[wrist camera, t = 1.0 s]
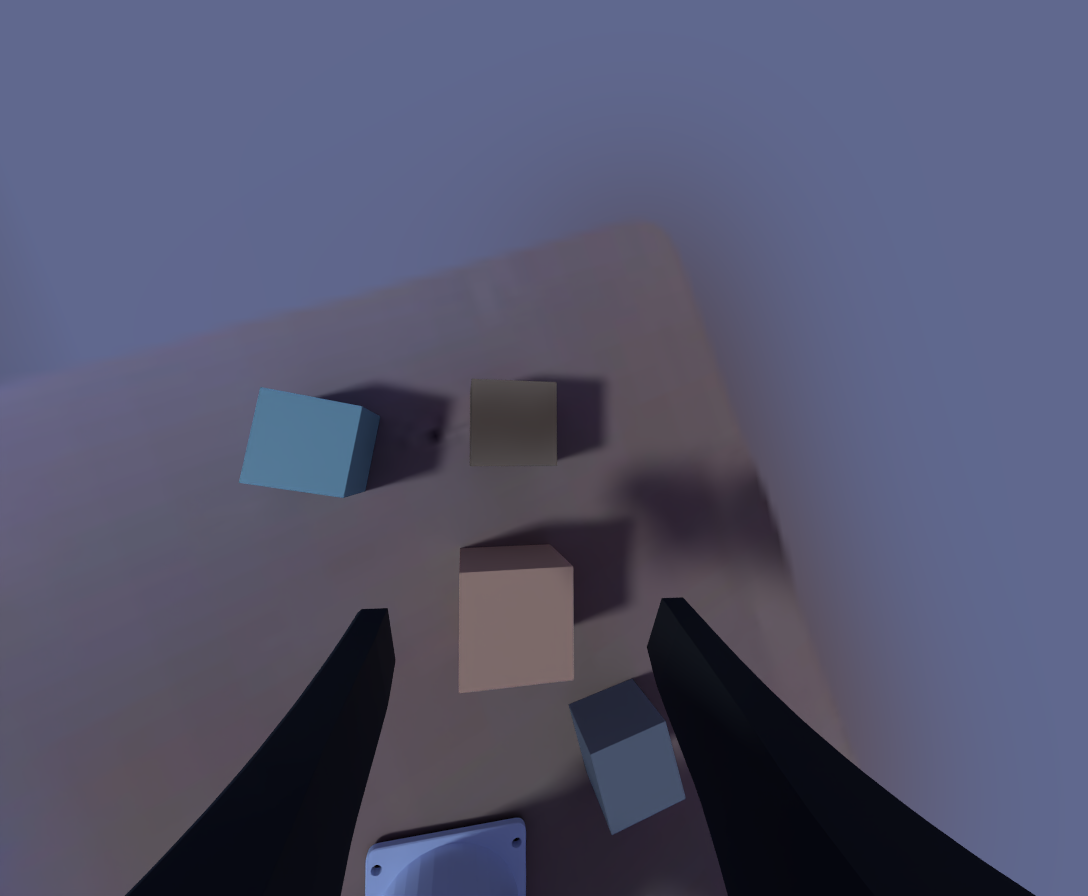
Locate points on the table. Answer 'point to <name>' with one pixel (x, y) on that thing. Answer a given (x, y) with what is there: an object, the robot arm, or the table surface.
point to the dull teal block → (309, 444)
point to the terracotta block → (515, 617)
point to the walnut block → (513, 423)
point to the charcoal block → (626, 754)
